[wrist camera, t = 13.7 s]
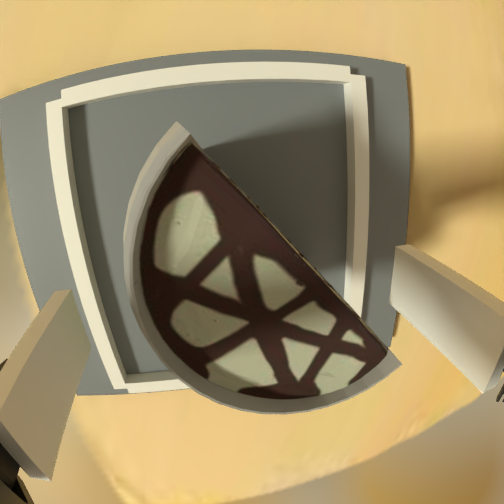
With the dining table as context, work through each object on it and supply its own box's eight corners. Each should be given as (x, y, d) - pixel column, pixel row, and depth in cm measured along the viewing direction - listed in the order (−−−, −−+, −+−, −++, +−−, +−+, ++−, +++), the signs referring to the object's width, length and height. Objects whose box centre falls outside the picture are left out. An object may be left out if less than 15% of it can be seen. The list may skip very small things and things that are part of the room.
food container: (107, 210, 17) (31, 288, 7) (182, 130, 16) (172, 116, 7) (252, 335, 21) (295, 455, 12) (320, 274, 21) (406, 369, 11)
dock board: (396, 66, 18) (414, 62, 16) (384, 340, 25) (396, 353, 24) (6, 100, 14) (-9, 98, 12) (79, 387, 21) (74, 403, 20)
